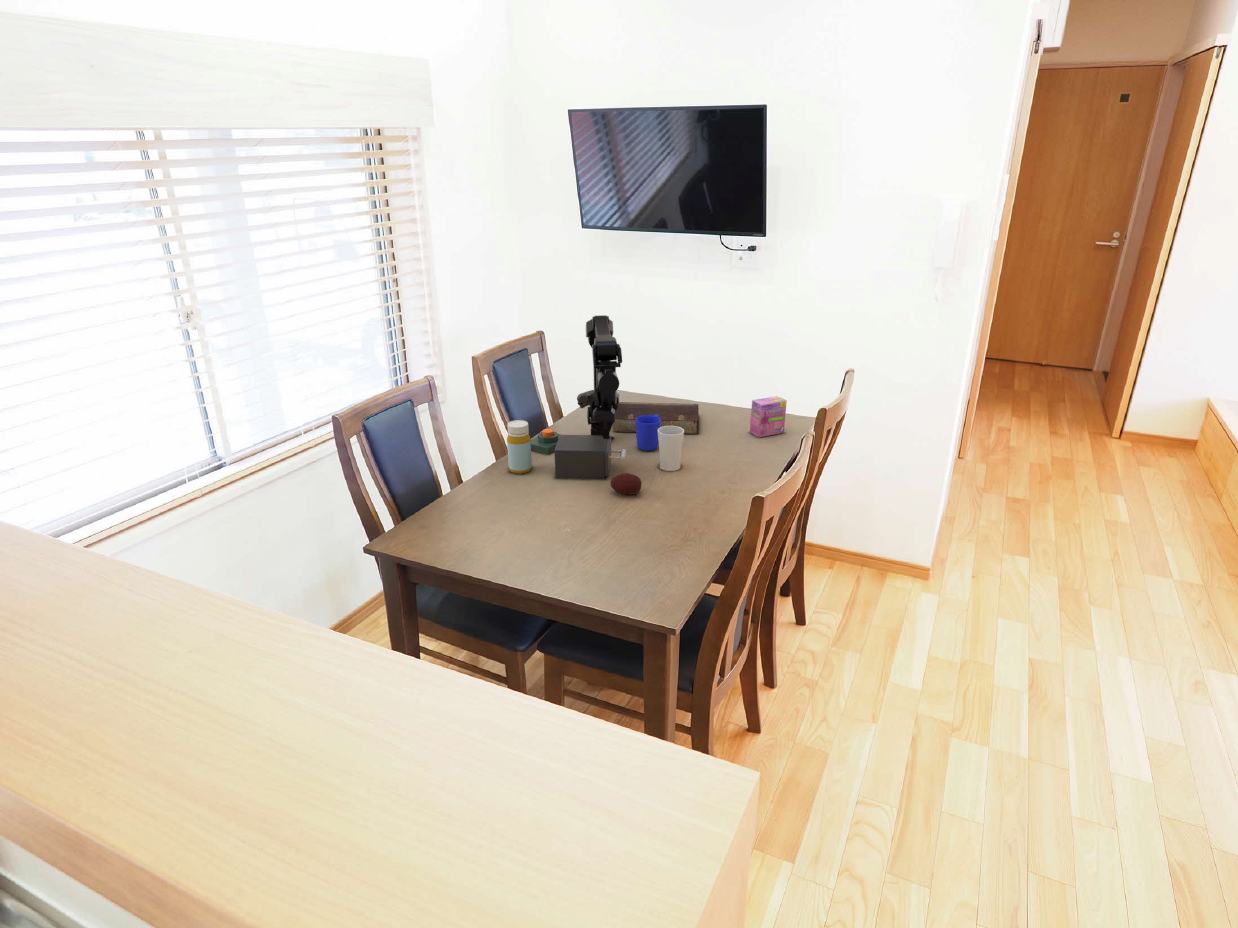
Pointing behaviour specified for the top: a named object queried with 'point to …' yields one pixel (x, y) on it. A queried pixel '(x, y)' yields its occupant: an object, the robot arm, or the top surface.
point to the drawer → (608, 457)
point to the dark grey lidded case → (580, 457)
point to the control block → (545, 443)
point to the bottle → (519, 447)
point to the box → (768, 416)
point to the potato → (626, 483)
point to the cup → (670, 447)
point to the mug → (647, 432)
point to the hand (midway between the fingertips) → (606, 433)
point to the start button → (548, 432)
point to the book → (667, 412)
